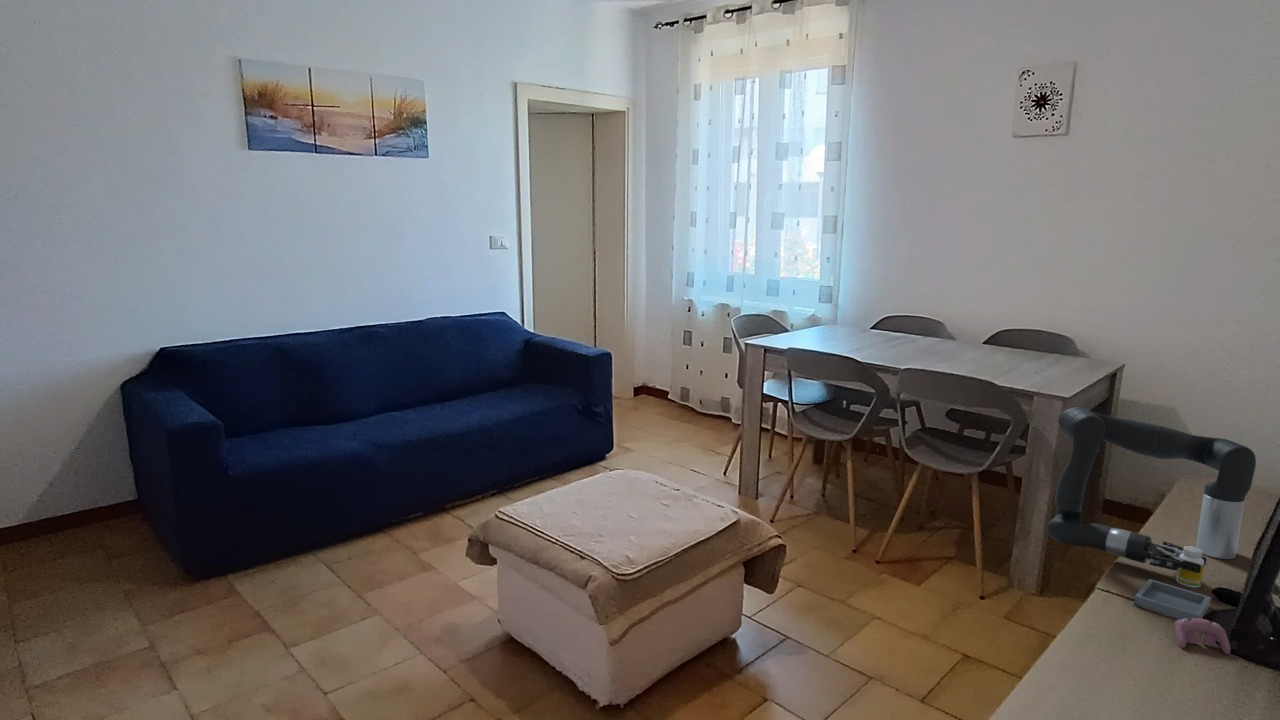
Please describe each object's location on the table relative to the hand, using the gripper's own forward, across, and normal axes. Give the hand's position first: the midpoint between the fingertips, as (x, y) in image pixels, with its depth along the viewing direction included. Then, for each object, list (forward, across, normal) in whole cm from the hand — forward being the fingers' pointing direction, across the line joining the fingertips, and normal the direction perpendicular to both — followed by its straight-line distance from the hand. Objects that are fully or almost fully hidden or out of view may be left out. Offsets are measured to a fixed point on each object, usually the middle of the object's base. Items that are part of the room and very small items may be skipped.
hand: (1202, 565), depth 190 cm
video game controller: (+6, -33, +6) cm, 34 cm away
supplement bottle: (-3, 0, +6) cm, 7 cm away
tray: (-3, -17, +6) cm, 18 cm away
